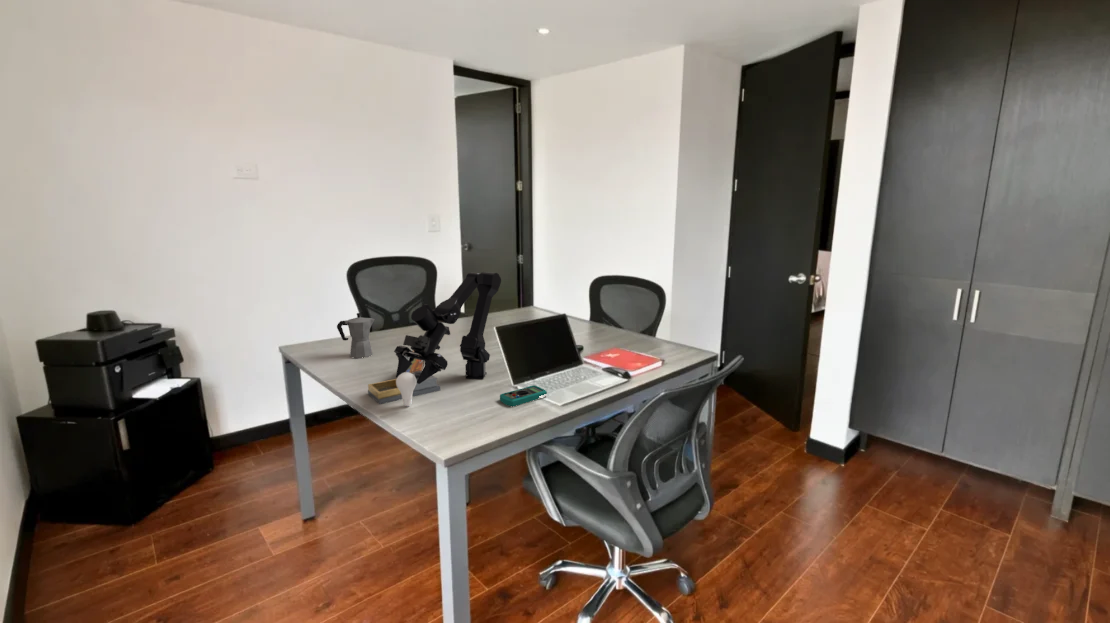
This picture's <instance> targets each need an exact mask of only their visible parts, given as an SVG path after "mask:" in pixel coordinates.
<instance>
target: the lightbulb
mask: <svg viewBox="0 0 1110 623" xmlns="http://www.w3.org/2000/svg"><path fill="white" fill-rule="evenodd" d="M396 379H397V380H396V385H397V387H398V389H399V390H400V392H401V395H402V399H401V400H402V403H403V406H404V407H410V406H411V405H412V404H413V401H412V400H413V397H412V395H413V390H414V388H415V386H416V383H417V380H416V377H415V376H414V375H413V374H412V373H409V372H404V373H402V374H400V375H399V376H398V378H396Z"/></svg>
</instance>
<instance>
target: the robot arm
mask: <svg viewBox="0 0 1110 623" xmlns="http://www.w3.org/2000/svg"><path fill="white" fill-rule="evenodd" d="M501 283H502V278H501V275H500V274H499V273H497V272H491V271H490V272H489V271H481V272H480V273H479V272H472V271H471V272H468V273H467V274H466V277H465V279H463V281H462V282H461V283H460V285H459V286H458V287H457V289H455V291H453V293H452V294H451V296H450V297H449V298H448V299H445V300H443V301H442V302H440V303H439V304H438V305H436V307H435V308H434V309H432V308H431V306H430V305H429V304H426V303H423V304H422V306H419V307H417V308H416V309H415V310H414V311H413V312H412V313H411V316H410V318H411V320H412V321H413V322H414V323H415V324H416V325H417V326H418V327H419V328H420V329H421V330H422V331H423V332H424V333H423V335H422V334H421V335H419V336H413V335H408V334H407V335H405V336H404V340H403V344H402V345H397V346H396V348H395V349H394V351H393V352H394V353H395V355H396V357H397V358H398V363H397V369H396V374H395V379H397V378H398V376H399V375H400V374H402V373H404V372H405V371H406V370H407V369H408V368H409V367H410V366H411V364H412V363H411V362H412V361H413V360H414V359H418V360H423V361H425V362H424V367H423V369H422V372H421V374H420V376H419V378H418V380H417V383H418V384H420V383H422V382H423V381H425V380H426V379H427V378H429V377H430V376H432V375H433V376H434V375H435V374H437V373H438V372H441V371H442V370H443V371H445V370H446V369H447V368H448V365H449V364H448V360H447V359H446V358H445V357H444V356H443V355H441V353H438V352H436V350H437V351H438V350H440V349H441V346H440V343H441V341H442V340H443V339H444V336H445V335H447V336H450V335H451V330H450V327H449V326H447V325H445V324H448V325H454V324H456V322H457V320H458V319H459V317H460V316H461V312H462V308H463V306H464V304H465V303H466V301H468V299H469V298H470V297H471V295H472V294H473V293H474V291H475V290H476V289H477V292H478V296H477V300H476V304H475V308H474V313H473V318H472V320H471V321H472V322H471V325H470V330H469V332H468V333H467V334H466V335H462V337H461V341H460V342H461V343H460V345H459V348H460V349H459V351H460V353H461V357H462V360H464V361H466V363H465V364H464V365H465V379H472V380H473V379H475V380H484V378H485V377H486V376H485V375H487V371H486V363H488V361H490V356H491V354H490V353H489V352H488V351H487V350H486V341H485V338H484V332H485V329H486V325H487V324H486V323H487V320H488V315H489V311H490V309H491V308H490V307H491V304H492V299H493V297H494V296H495V295H496V294H497V293H498V292H499V289H500V286H501ZM409 347H410V348H409ZM413 350H414V352H412V351H413Z"/></svg>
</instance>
